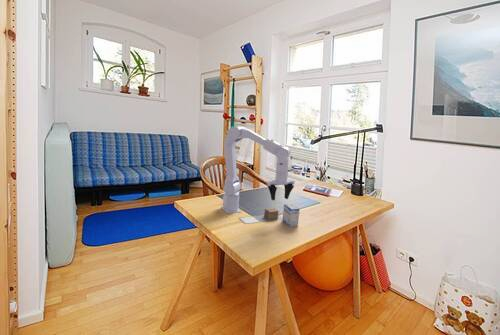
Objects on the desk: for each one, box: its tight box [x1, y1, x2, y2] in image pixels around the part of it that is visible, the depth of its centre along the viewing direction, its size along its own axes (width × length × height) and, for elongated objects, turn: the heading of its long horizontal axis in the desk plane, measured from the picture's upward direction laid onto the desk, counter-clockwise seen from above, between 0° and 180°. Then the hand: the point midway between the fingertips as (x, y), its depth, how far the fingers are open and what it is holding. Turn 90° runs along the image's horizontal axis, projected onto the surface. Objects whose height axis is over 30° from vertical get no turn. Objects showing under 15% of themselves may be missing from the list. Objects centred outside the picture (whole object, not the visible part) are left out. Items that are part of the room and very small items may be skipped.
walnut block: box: [263, 207, 279, 220], centre depth 137 cm, size 5×5×4 cm
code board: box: [237, 214, 283, 225], centre depth 135 cm, size 8×21×1 cm, turn 117°
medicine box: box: [281, 203, 300, 228], centre depth 130 cm, size 8×4×9 cm, turn 21°
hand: (279, 199), depth 134 cm, fingers open, 7 cm apart
